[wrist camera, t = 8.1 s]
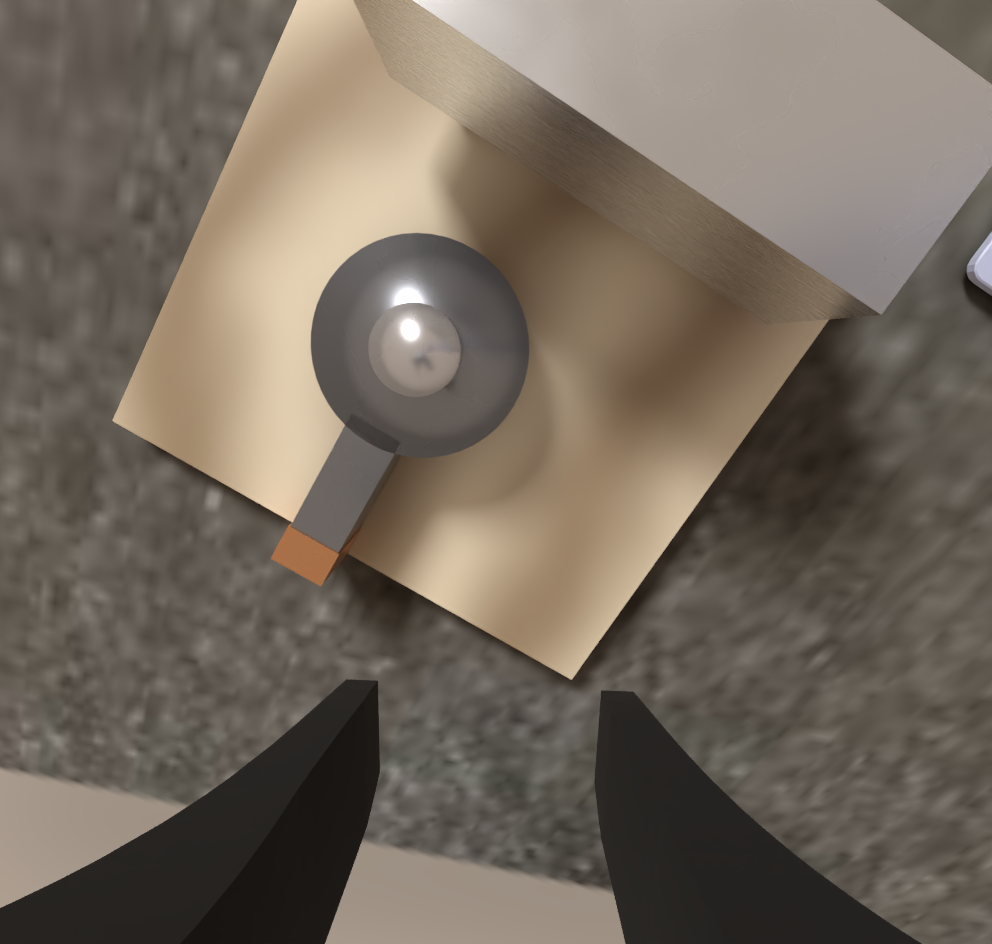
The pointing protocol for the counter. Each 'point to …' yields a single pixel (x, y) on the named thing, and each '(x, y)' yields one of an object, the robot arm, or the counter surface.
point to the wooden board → (551, 367)
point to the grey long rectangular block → (719, 129)
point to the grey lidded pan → (403, 377)
